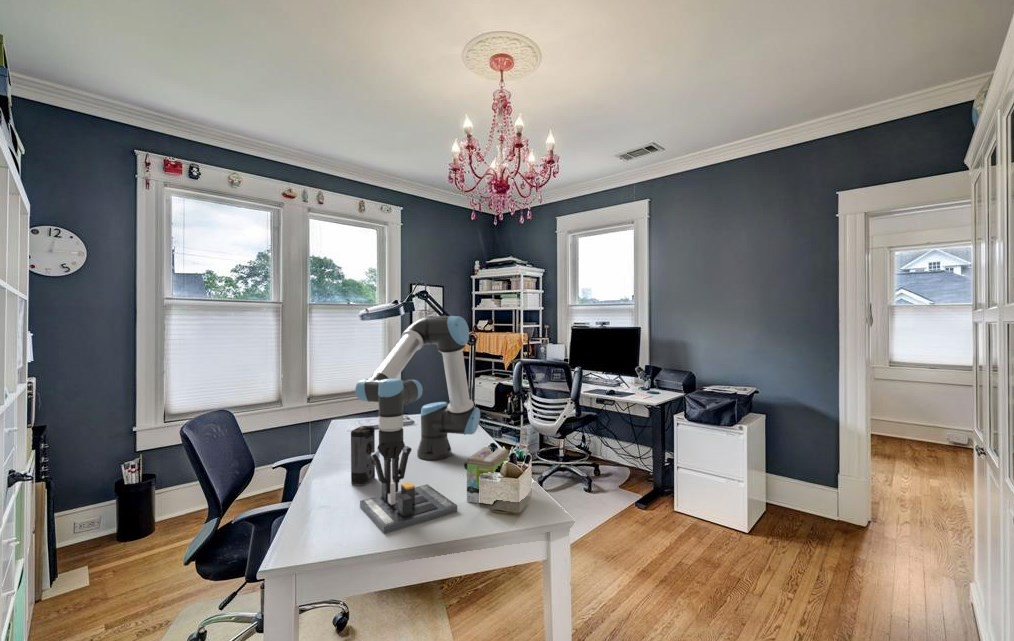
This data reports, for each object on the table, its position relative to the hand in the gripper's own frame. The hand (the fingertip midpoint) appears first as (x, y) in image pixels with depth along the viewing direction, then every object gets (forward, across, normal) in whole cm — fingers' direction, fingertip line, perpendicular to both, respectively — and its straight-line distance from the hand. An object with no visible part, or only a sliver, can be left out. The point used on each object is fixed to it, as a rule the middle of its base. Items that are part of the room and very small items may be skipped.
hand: (391, 502), depth 140 cm
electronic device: (+4, -1, -33) cm, 33 cm away
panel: (+4, -5, 0) cm, 6 cm away
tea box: (+4, -32, +6) cm, 33 cm away
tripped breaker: (+1, -5, 0) cm, 6 cm away
